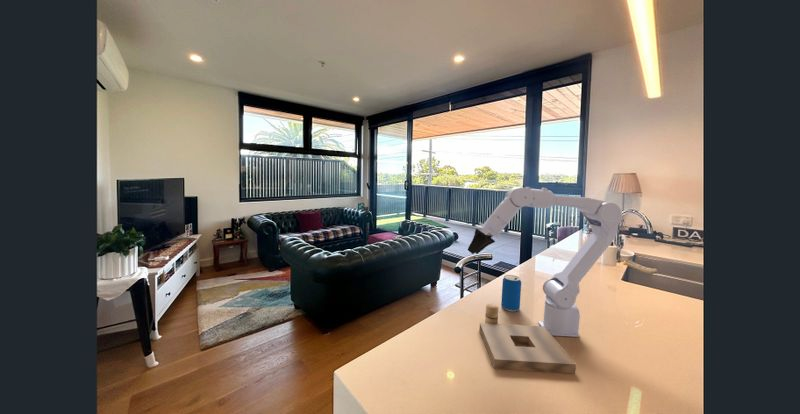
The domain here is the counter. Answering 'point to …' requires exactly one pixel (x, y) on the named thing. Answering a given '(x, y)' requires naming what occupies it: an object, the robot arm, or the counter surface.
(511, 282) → the beverage can
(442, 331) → the counter surface
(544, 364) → the hole board
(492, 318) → the oak peg
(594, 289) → the counter surface
